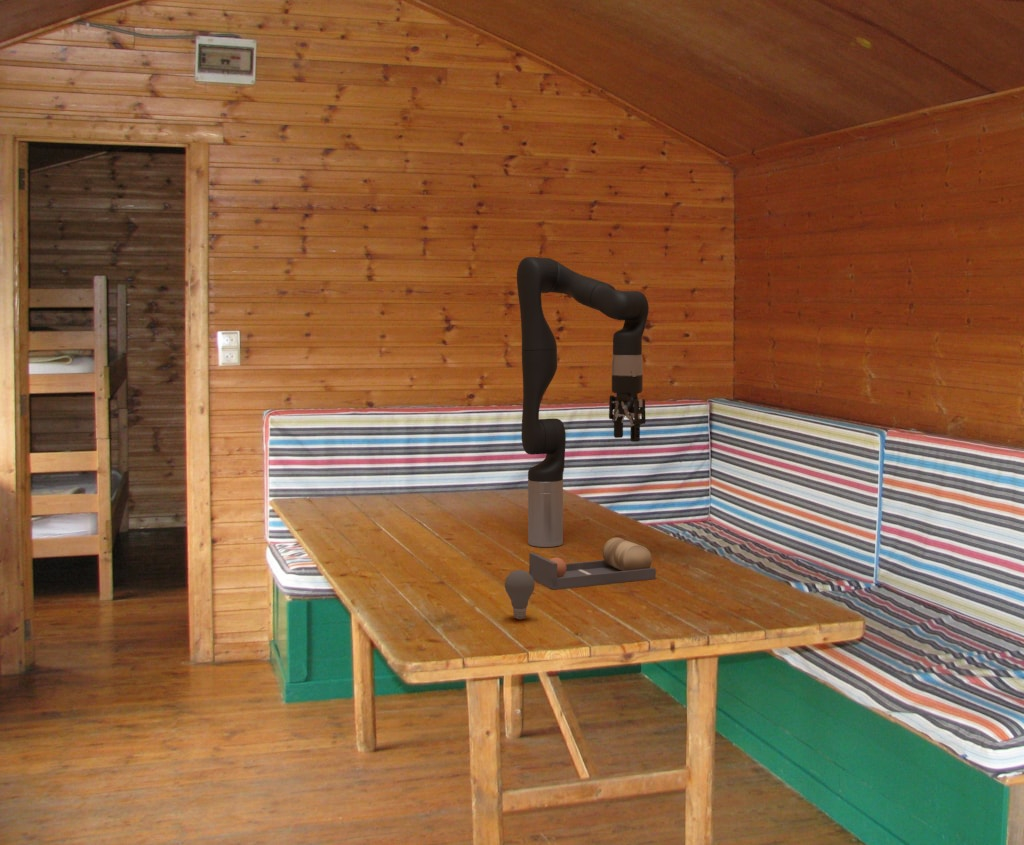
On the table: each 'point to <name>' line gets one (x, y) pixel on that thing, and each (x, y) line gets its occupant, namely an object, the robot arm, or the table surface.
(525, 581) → the light bulb
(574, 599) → the table surface
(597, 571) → the runway
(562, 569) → the ball
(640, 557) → the log roller
